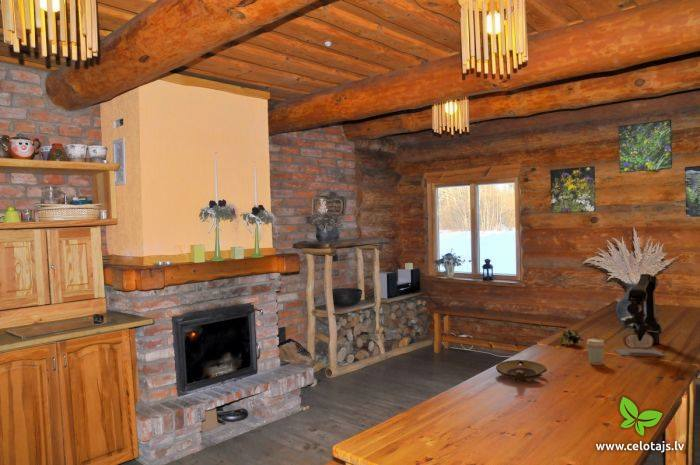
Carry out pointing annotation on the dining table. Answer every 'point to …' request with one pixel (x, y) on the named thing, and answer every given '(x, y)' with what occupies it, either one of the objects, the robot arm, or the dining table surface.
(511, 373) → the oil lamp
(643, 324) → the robot arm
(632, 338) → the tin
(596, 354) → the coffee cup
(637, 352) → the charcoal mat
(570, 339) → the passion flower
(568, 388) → the dining table surface
